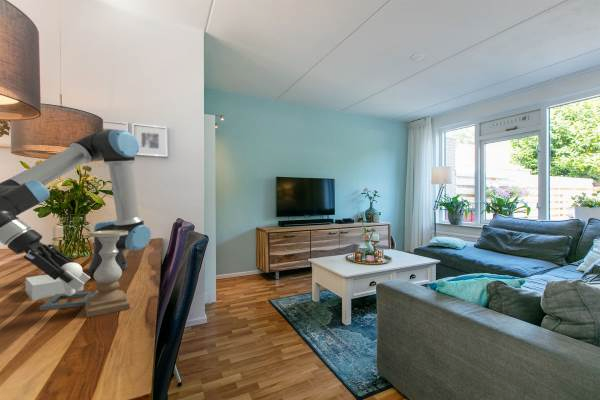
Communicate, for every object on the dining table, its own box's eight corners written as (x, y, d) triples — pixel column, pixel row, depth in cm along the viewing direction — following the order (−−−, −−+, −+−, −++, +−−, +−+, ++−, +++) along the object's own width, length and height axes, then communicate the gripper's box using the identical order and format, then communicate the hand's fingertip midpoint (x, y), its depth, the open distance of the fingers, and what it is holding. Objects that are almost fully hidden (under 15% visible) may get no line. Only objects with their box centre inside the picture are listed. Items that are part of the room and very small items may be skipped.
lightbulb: (67, 300, 85) (68, 265, 85) (52, 298, 87) (53, 264, 87) (86, 293, 91) (87, 261, 91) (72, 292, 93) (72, 260, 93)
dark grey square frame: (55, 298, 92) (55, 294, 92) (96, 293, 97) (96, 290, 97) (39, 310, 82) (39, 306, 82) (86, 305, 86) (86, 301, 86)
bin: (73, 283, 108) (73, 270, 108) (83, 290, 100) (83, 277, 100) (25, 291, 98) (25, 277, 98) (32, 300, 89) (32, 285, 89)
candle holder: (84, 306, 86) (86, 231, 86) (125, 298, 93) (127, 229, 93) (85, 318, 77) (88, 234, 77) (130, 308, 84) (132, 232, 84)
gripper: (24, 241, 91) (83, 284, 98) (-13, 251, 74) (62, 303, 81) (44, 225, 93) (101, 268, 100) (13, 231, 76) (84, 283, 83)
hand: (83, 283), depth 90 cm, fingers closed on lightbulb, 6 cm apart
